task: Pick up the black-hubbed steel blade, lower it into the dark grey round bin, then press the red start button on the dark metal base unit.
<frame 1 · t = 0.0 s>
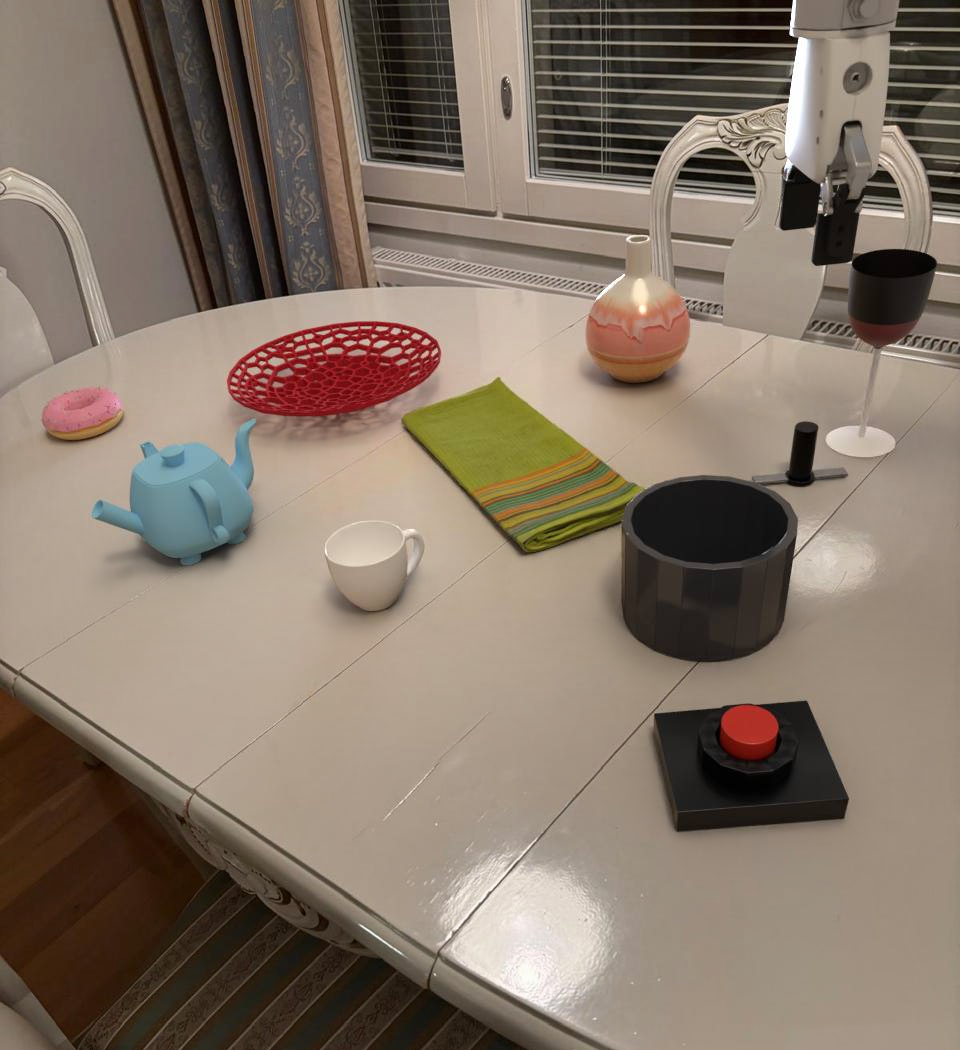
hand: (813, 244, 79), 27 cm above the table, tool pointing down, fingers open, 9 cm apart
teapot: (200, 538, 103), on the table
cup: (386, 595, 92), on the table
doughnut: (88, 427, 129), on the table
start button: (748, 732, 67), point 4 cm above the table, slide at 0.1 cm
wineglass: (860, 442, 105), on the table
base unit: (743, 772, 70), on the table
dark grey round bin: (701, 609, 85), on the table
vase: (636, 374, 125), on the table
blade: (799, 479, 100), on the table
bowl: (341, 398, 128), on the table
dish towel: (513, 467, 109), on the table
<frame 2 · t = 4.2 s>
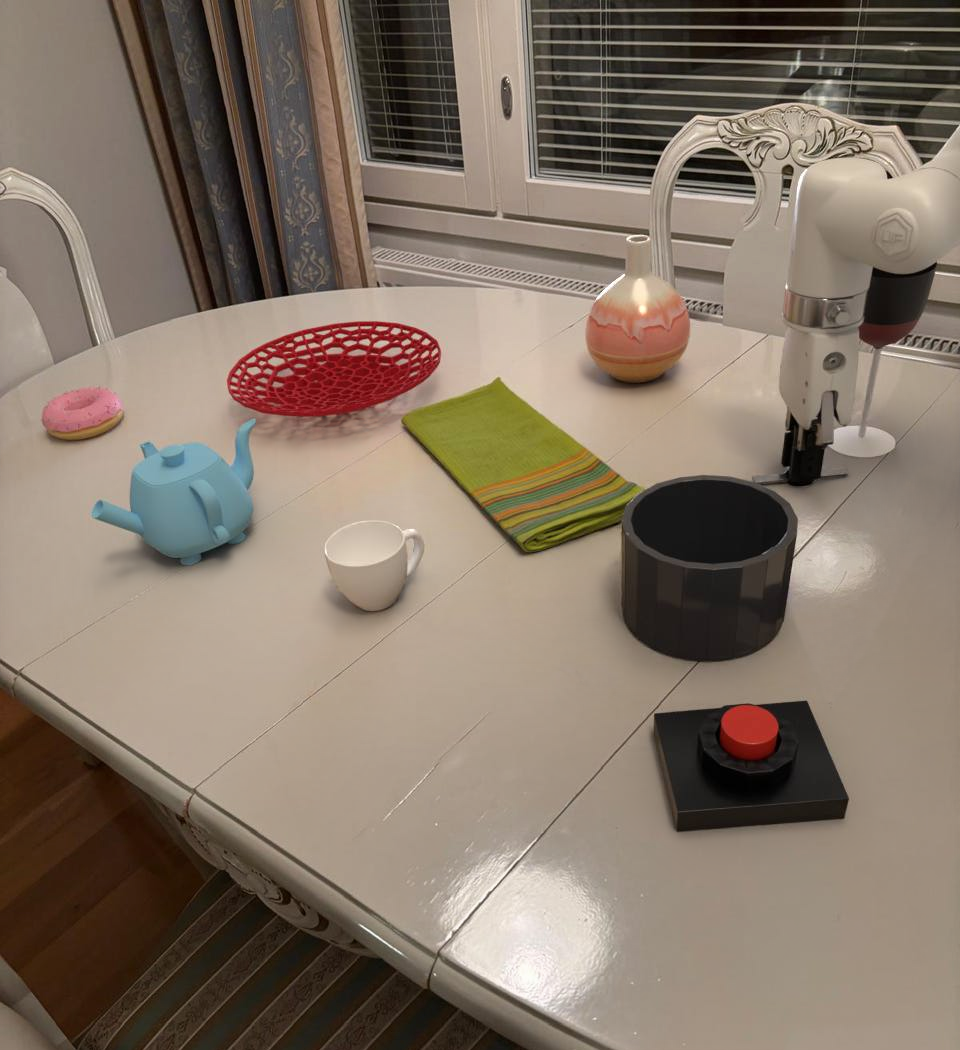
hand: (800, 470, 100), 1 cm above the table, tool pointing down, fingers closed on blade, 2 cm apart
blade: (799, 479, 100), on the table, touching gripper
everything else where it was.
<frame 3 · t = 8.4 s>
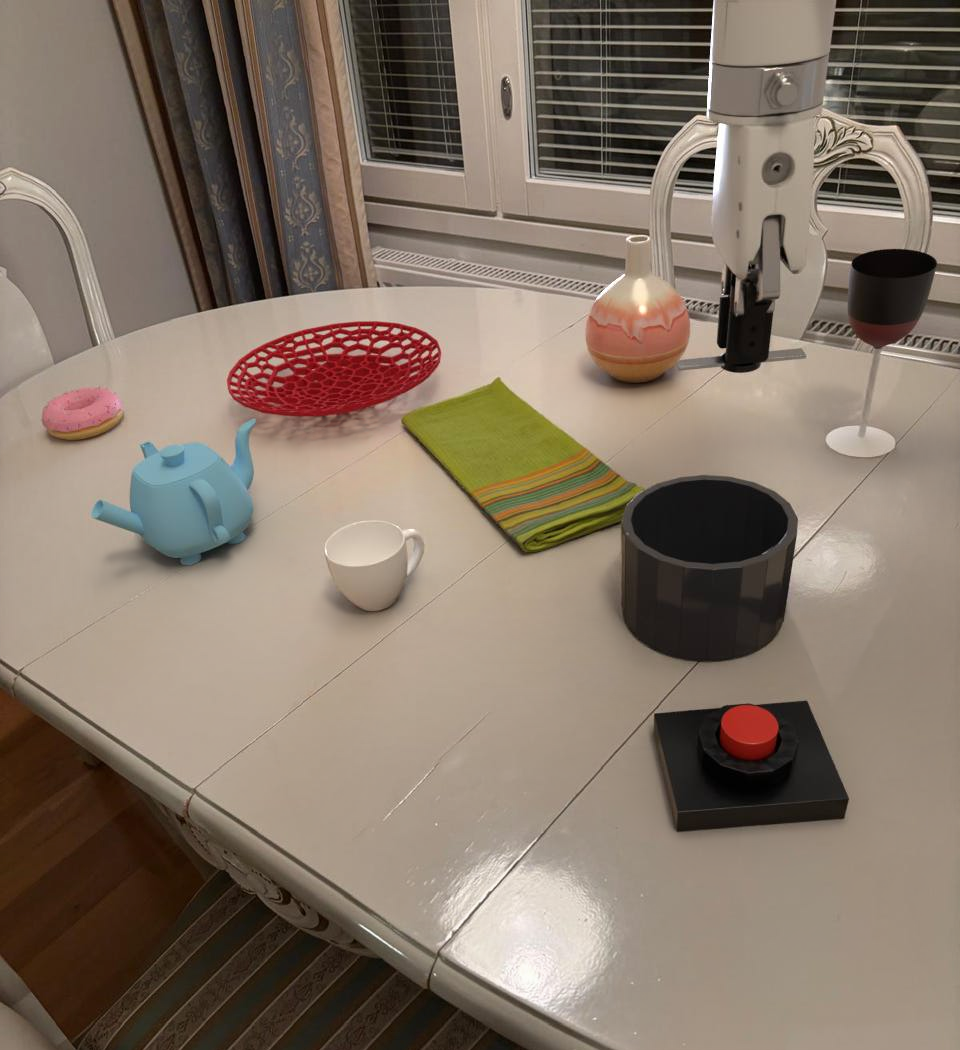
hand: (741, 351, 73), 23 cm above the table, tool pointing down, fingers closed on blade, 2 cm apart
blade: (740, 364, 73), point 22 cm above the table, touching gripper
everything else where it was.
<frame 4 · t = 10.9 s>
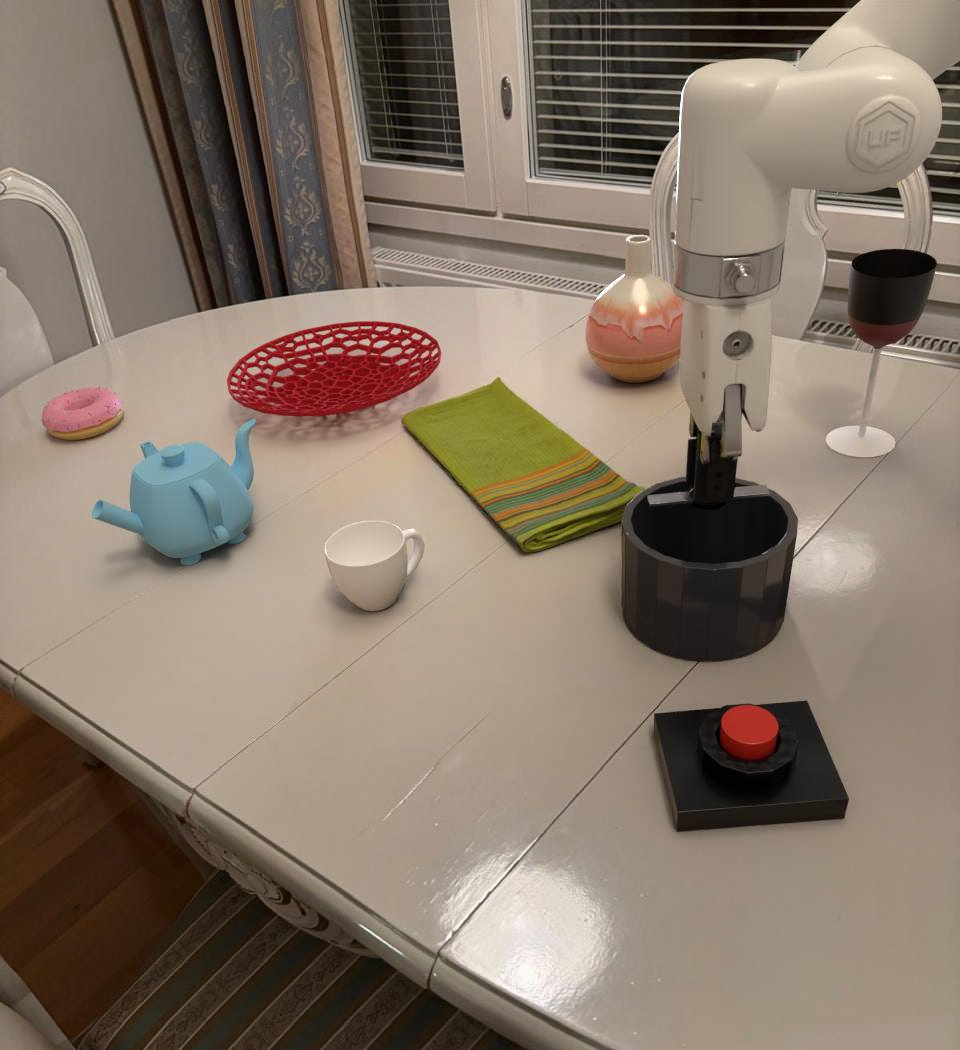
hand: (709, 489, 77), 13 cm above the table, tool pointing down, fingers closed on blade, 2 cm apart
blade: (707, 500, 77), point 12 cm above the table, touching gripper
everything else where it was.
when the fingers open (6 cm above the table, at t = 12.9 s): blade drops 5 cm, resting on dark grey round bin.
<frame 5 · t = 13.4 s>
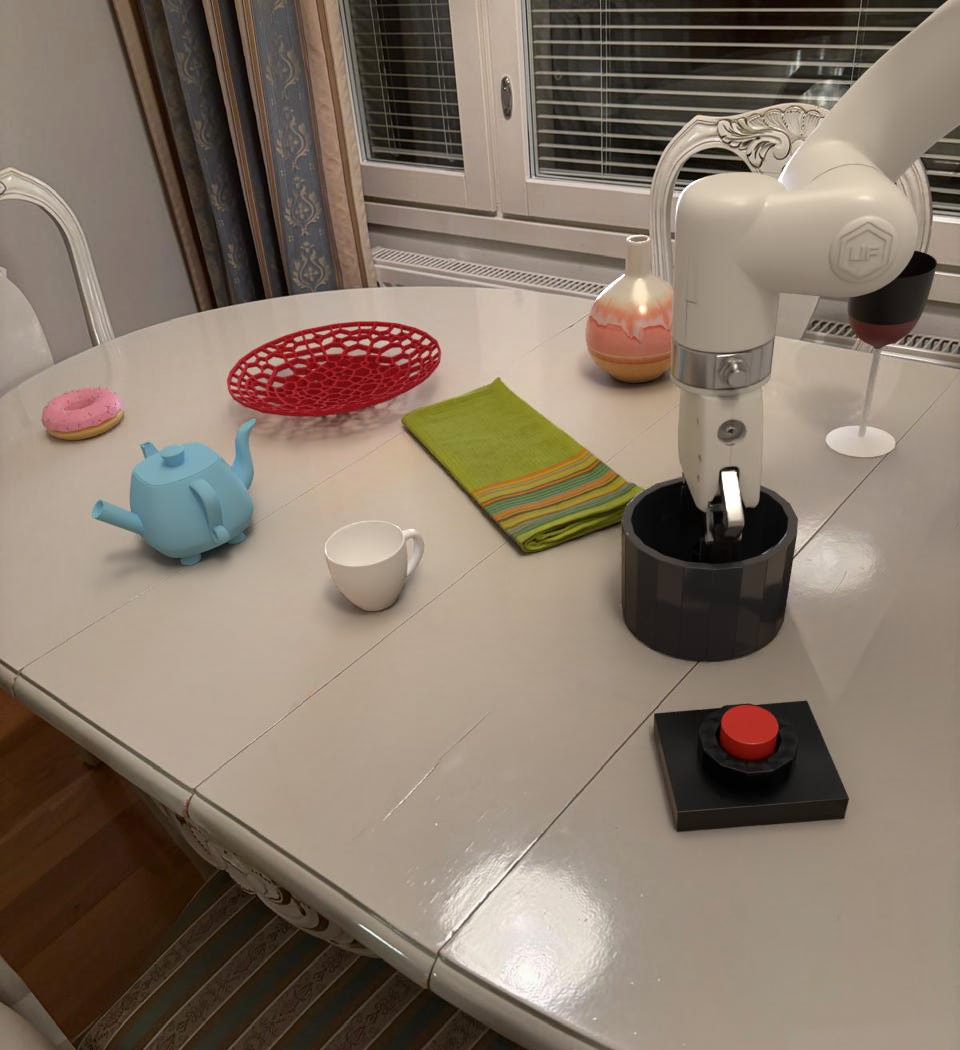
hand: (707, 548, 80), 7 cm above the table, tool pointing down, fingers open, 7 cm apart
blade: (702, 605, 85), point 1 cm above the table, touching dark grey round bin
everything else where it was.
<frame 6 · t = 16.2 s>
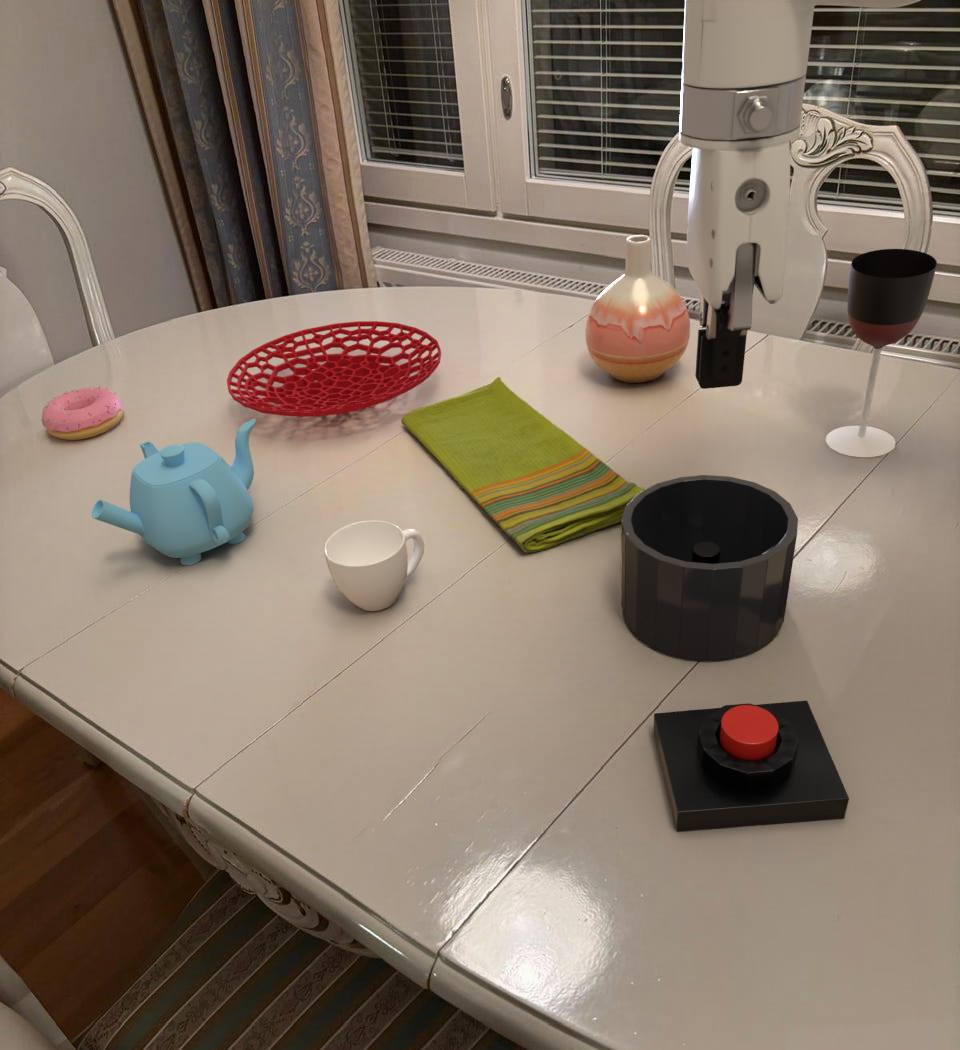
hand: (718, 382, 70), 23 cm above the table, tool pointing down, fingers closed
nothing on the table moved.
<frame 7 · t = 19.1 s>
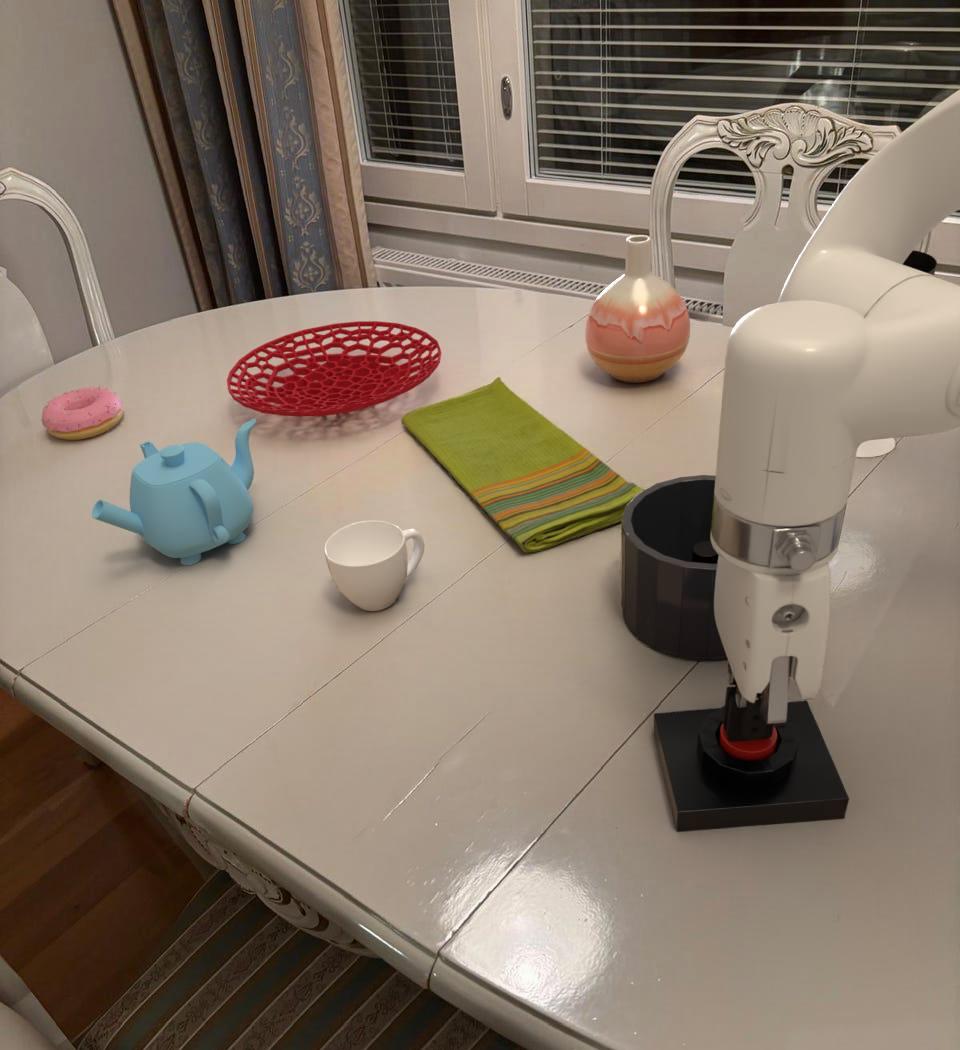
hand: (746, 732, 67), 5 cm above the table, tool pointing down, fingers closed
start button: (747, 739, 67), point 4 cm above the table, slide at -0.7 cm, touching gripper
everything else where it was.
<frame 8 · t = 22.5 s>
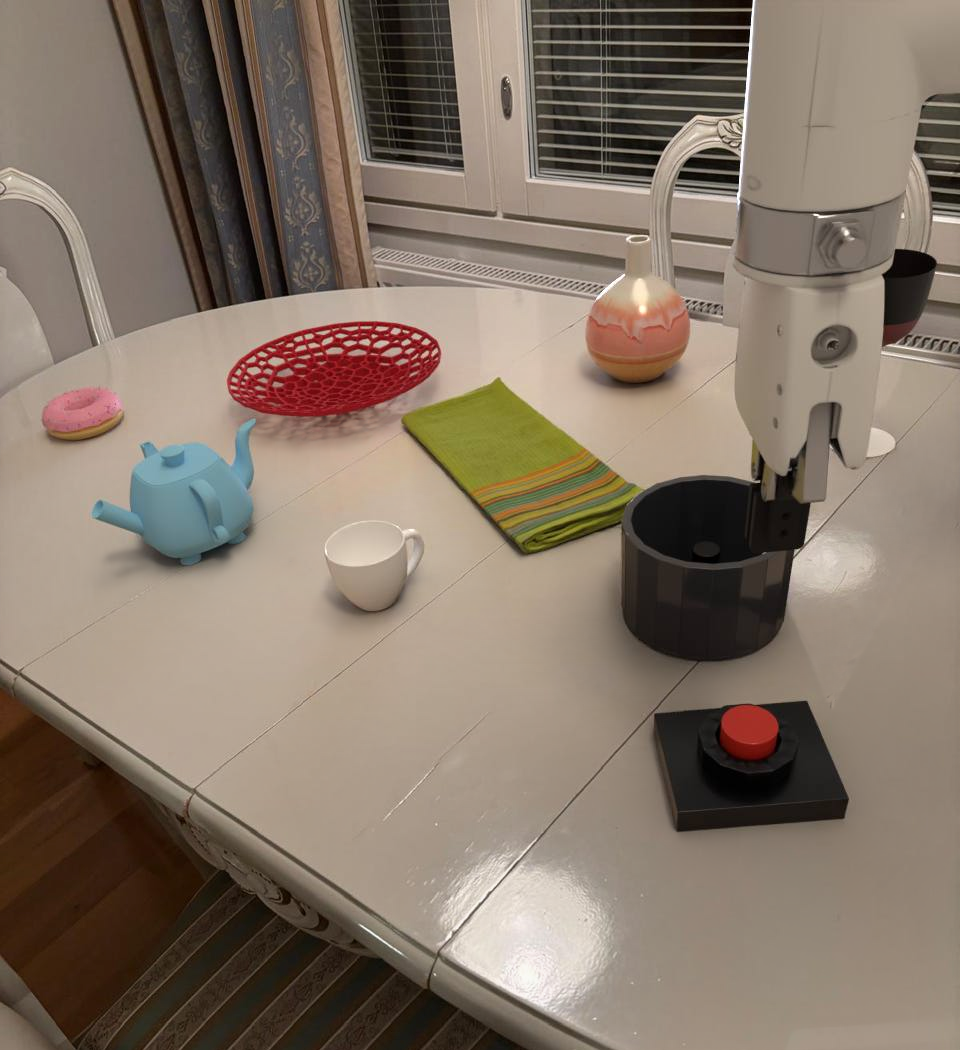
hand: (773, 543, 56), 21 cm above the table, tool pointing down, fingers closed
start button: (748, 732, 67), point 4 cm above the table, slide at 0.1 cm
everything else where it was.
at the end: blade inside the target area in the dark grey round bin (0.0 cm from its centre), point 0.5 cm above the dark grey round bin's base; start button pushed in 1.1 cm at the most during the clip, back to where it started at the end; start button slide at 0.1 cm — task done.
